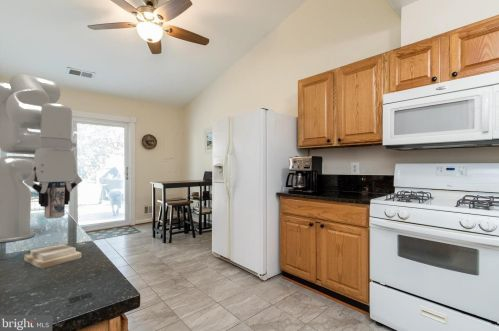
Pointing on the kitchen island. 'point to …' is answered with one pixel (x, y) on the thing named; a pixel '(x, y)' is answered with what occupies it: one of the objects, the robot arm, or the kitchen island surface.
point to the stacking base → (53, 261)
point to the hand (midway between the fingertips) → (54, 204)
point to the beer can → (55, 200)
